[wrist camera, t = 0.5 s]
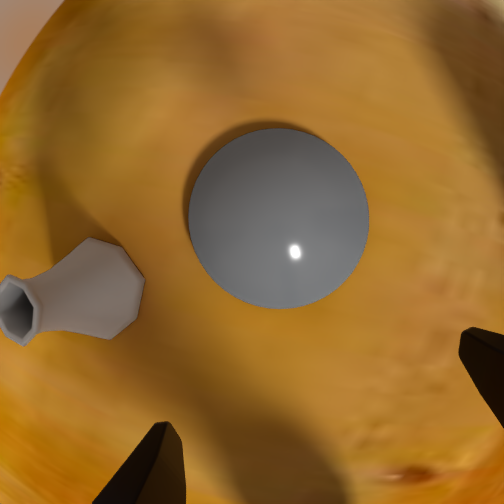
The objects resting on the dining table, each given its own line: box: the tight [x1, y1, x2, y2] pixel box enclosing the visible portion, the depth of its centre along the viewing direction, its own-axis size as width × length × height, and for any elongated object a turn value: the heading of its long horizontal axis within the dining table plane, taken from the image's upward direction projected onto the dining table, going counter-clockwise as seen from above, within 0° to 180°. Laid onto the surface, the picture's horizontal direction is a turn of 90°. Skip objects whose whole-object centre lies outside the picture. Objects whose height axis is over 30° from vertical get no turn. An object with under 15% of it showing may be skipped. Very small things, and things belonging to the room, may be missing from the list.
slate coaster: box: [188, 128, 369, 309], centre depth 21 cm, size 12×12×1 cm
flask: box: [0, 237, 145, 346], centre depth 16 cm, size 7×7×10 cm
